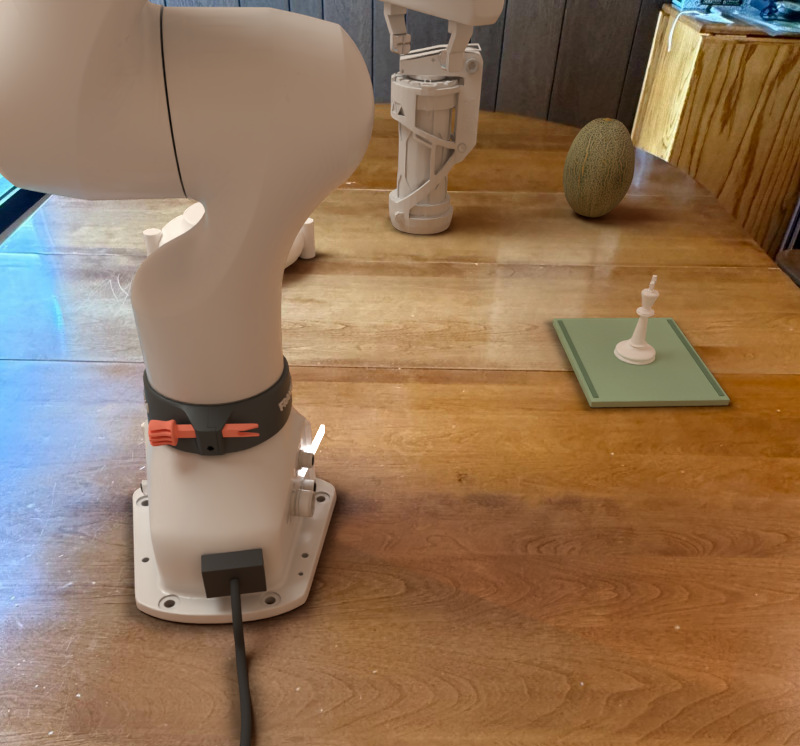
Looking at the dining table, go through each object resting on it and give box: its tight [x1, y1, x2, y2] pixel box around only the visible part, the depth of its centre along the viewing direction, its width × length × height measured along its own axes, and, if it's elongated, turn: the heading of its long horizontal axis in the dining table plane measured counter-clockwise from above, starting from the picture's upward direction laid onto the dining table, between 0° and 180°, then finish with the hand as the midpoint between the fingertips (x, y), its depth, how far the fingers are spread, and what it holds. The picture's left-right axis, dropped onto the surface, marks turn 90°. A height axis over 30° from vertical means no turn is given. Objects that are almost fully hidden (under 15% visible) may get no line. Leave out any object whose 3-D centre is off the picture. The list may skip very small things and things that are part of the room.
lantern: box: [388, 43, 484, 235], centre depth 118 cm, size 13×10×25 cm
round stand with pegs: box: [142, 201, 316, 270], centre depth 111 cm, size 24×24×7 cm
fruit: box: [562, 117, 636, 218], centre depth 126 cm, size 11×11×15 cm
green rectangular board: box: [551, 317, 731, 408], centre depth 94 cm, size 20×16×1 cm
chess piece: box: [614, 274, 660, 365], centre depth 91 cm, size 5×5×10 cm
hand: (424, 61), depth 83 cm, fingers open, 8 cm apart
